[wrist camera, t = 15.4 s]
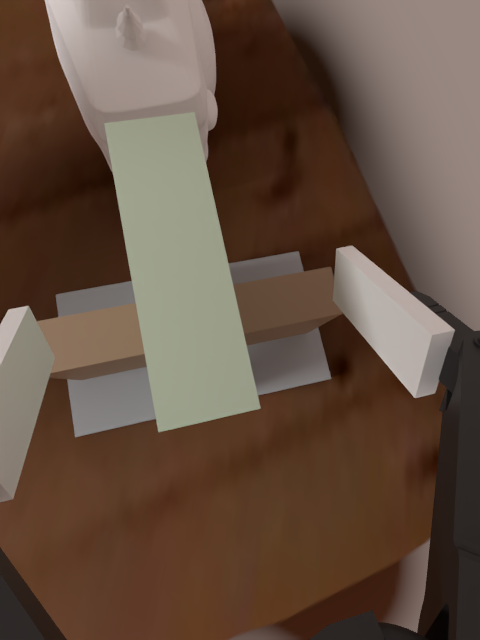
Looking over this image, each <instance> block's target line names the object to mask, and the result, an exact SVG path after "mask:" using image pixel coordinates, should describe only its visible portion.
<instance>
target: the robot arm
mask: <svg viewBox="0 0 480 640" xmlns="http://www.w3.org/2000/svg"><path fill="white" fill-rule="evenodd" d="M333 301H334V303H335V304H336V305H337V306H338V307H339V309H340V310H341V311H342V312H343V313H344V315H345V316H346V317H347V318H348V319H349V320H350V322H351V323H352V324H353V325H354V326H355V328H356V329H357V330H358V331H359V332H360V334H361V335H362V336H363V337H364V338H365V340H366V341H367V342H368V343H369V344H370V345H371V347H372V348H373V349H374V350H375V351H376V353H377V354H378V355H379V356H380V357H381V359H382V360H383V361H384V362H385V363H386V364H387V366H388V367H389V368H390V369H391V370H392V372H393V373H394V374H395V375H396V376H397V378H398V379H399V380H400V381H401V382H402V384H403V385H404V386H405V387H406V388H407V389H408V391H409V392H410V393H411V394H412V395H413V397H414V398H418V397H422V396H426V395H430V394H434V393H435V392H436V389H437V385H438V382H439V381H440V382H441V383H442V384H443V385H444V386H445V387H446V388H447V389H446V392H445V395H444V398H443V401H442V404H441V407H440V410H439V411H442V412H443V415H442V425H441V436H440V446H439V456H438V467H437V477H436V487H435V497H434V508H433V518H432V528H431V539H430V549H429V560H428V571H427V581H426V590H425V596H424V601H423V605H422V610H421V614H420V619H419V625H418V632H417V633H416V632H413V631H411V630H409V629H407V628H404V627H401V626H398V625H394V624H389V623H381V622H377V620H376V617H375V615H374V613H373V611H370V612H366V613H364V614H360V615H357V616H354V617H351V618H348V619H345V620H342V621H339V622H336V623H333V624H330V625H328V626H327V627H325V628H324V629H323V630H321V631H320V632H319V633H317V634H316V635H315V636H314V637H312V638H311V639H310V640H480V331H473V330H472V329H470V328H469V327H468V326H466V325H465V324H464V323H463V322H461V321H460V320H459V319H457V318H456V317H455V316H453V315H452V314H451V313H450V312H447V311H446V309H445V308H443V307H442V306H441V305H440V306H439V304H438V303H437V302H436V301H434V300H433V299H432V298H431V297H429V296H427V295H424V294H422V293H419V292H417V291H413V292H408V291H407V290H406V289H405V288H403V287H402V286H401V285H400V284H398V283H397V282H396V281H395V280H394V279H392V278H391V277H390V276H389V275H387V274H386V273H385V272H384V271H383V270H381V269H380V268H379V267H378V266H376V265H375V264H374V263H373V262H372V261H370V260H369V259H368V258H367V257H366V256H364V255H363V254H362V253H361V252H359V251H358V250H357V249H356V248H355V247H353V246H347V247H342V248H337V249H336V260H335V274H334V289H333ZM54 359H55V356H54V355H53V353H52V351H51V349H50V347H49V345H48V343H47V341H46V339H45V337H44V335H43V333H42V331H41V329H40V327H39V325H38V323H37V321H36V319H35V317H34V315H33V313H32V311H31V309H30V307H29V306H24V307H19V308H14V309H8V311H7V313H6V315H5V317H4V319H3V320H2V322H1V324H0V502H3V501H7V500H11V499H13V498H14V495H15V491H16V488H17V484H18V481H19V478H20V474H21V471H22V468H23V464H24V461H25V457H26V454H27V451H28V447H29V444H30V440H31V437H32V434H33V430H34V427H35V424H36V420H37V417H38V413H39V410H40V407H41V403H42V400H43V397H44V393H45V390H46V386H47V383H48V380H49V376H50V373H51V370H52V366H53V363H54ZM0 640H67V639H66V638H65V637H64V635H63V634H62V633H61V631H60V630H59V628H58V627H57V626H56V624H55V623H54V621H53V620H52V619H51V617H50V616H49V614H48V613H47V612H46V610H45V609H44V608H43V606H42V605H41V603H40V602H39V601H38V599H37V598H36V596H35V595H34V594H33V592H32V591H31V590H30V588H29V587H28V585H27V584H26V583H25V581H24V580H23V578H22V577H21V576H20V574H19V573H18V572H17V570H16V569H15V567H14V566H13V565H12V563H11V562H10V560H9V559H8V558H7V556H6V555H5V553H4V552H3V551H2V549H1V548H0Z"/></svg>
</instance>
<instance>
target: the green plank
mask: <svg viewBox="0 0 480 640" xmlns="http://www.w3.org/2000/svg"><path fill="white" fill-rule="evenodd" d="M104 125H105V131H106V137H107V142H108V148H109V154H110V159H111V165H112V171H113V177H114V182H115V188H116V194H117V199H118V205H119V211H120V216H121V222H122V228H123V234H124V239H125V245H126V251H127V256H128V262H129V268H130V273H131V279H132V285H133V290H134V296H135V302H136V308H137V313H138V319H139V325H140V330H141V336H142V342H143V347H144V353H145V359H146V365H147V370H148V376H149V382H150V387H151V393H152V399H153V404H154V410H155V416H156V421H157V427H158V432H162V431H166V430H171V429H175V428H179V427H184V426H188V425H192V424H196V423H201V422H205V421H209V420H214V419H218V418H222V417H226V416H231V415H235V414H239V413H243V412H248V411H252V410H256V409H261V408H260V404H259V399H258V395H257V390H256V386H255V381H254V377H253V372H252V368H251V363H250V359H249V354H248V350H247V345H246V341H245V336H244V332H243V327H242V323H241V318H240V314H239V309H238V305H237V300H236V296H235V291H234V287H233V282H232V278H231V273H230V269H229V264H228V260H227V255H226V251H225V246H224V242H223V237H222V233H221V228H220V224H219V219H218V215H217V210H216V206H215V201H214V197H213V192H212V188H211V183H210V179H209V174H208V170H207V165H206V161H205V156H204V152H203V147H202V143H201V138H200V134H199V129H198V125H197V120H196V116H195V112H191V113H183V114H175V115H167V116H158V117H150V118H142V119H134V120H126V121H118V122H110V123H104Z"/></svg>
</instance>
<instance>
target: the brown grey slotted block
mask: <svg viewBox="0 0 480 640" xmlns="http://www.w3.org/2000/svg"><path fill="white" fill-rule="evenodd" d="M229 269H230V273H231V278H232V282H233V287H234V291H235V296H236V300H237V305H238V309H239V314H240V318H241V323H242V327H243V332H244V336H245V341H246V345H247V350H248V354H249V359H250V363H251V368H252V372H253V377H254V381H255V386H256V390H257V395H262V394H267V393H271V392H275V391H280V390H284V389H288V388H293V387H297V386H302V385H306V384H310V383H315V382H319V381H323V380H328V379H331V375H330V371H329V368H328V364H327V360H326V356H325V352H324V348H323V344H322V340H321V336H320V332H319V329H318V327H319V326H321V325H323V324H325V323H327V322H328V321H330V320H332V319H334V318H336V317H338V316H339V315H341V314H343V312H342V311H341V310H340V309H339V307H338V306H337V305H336V304H335V303H334V301H333V289H334V276H333V272H332V268H331V267H326V268H320V269H315V270H309V271H304V270H303V266H302V262H301V258H300V255H299V251H297V252H291V253H285V254H280V255H274V256H269V257H263V258H257V259H252V260H246V261H241V262H235V263H229ZM56 302H57V309H58V317H57V318H52V319H46V320H41V321H37V323H38V325H39V327H40V329H41V331H42V333H43V335H44V337H45V339H46V341H47V343H48V345H49V347H50V349H51V351H52V353H53V355H54V356H55V359H54V363H53V366H52V370H51V373H50V376H49V378H55V379H67V382H68V389H69V396H70V403H71V410H72V418H73V425H74V432H75V437H78V436H82V435H87V434H91V433H96V432H100V431H104V430H109V429H113V428H118V427H122V426H126V425H131V424H135V423H139V422H144V421H148V420H153V419H156V416H155V410H154V404H153V399H152V393H151V387H150V382H149V376H148V370H147V365H146V359H145V353H144V347H143V342H142V336H141V330H140V325H139V319H138V313H137V308H136V302H135V296H134V290H133V285H132V281H128V282H123V283H117V284H112V285H106V286H100V287H95V288H89V289H84V290H78V291H72V292H67V293H61V294H56Z"/></svg>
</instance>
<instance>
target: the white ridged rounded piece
mask: <svg viewBox="0 0 480 640" xmlns="http://www.w3.org/2000/svg"><path fill="white" fill-rule="evenodd" d="M45 3H46V7H47V12H48V16H49V21H50V25H51V30H52V34H53V39H54V43H55V47H56V51H57V54H58V57H59V60H60V63H61V66H62V68H63V71H64V73H65V76H66V78H67V80H68V83H69V85H70V88H71V90H72V93H73V95H74V97H75V100H76V102H77V105H78V107H79V110H80V112H81V115H82V117H83V119H84V122H85V124H86V126H87V128H88V130H89V132H90V134H91V135H92V137H93V138H94V140H95V141H96V142H97V144H98V145H99V147H100V149H101V150H102V152H103V154H104V156H105V158H106V161H107V163H108V165H109V167H110V170H111V171H112V165H111V159H110V154H109V148H108V142H107V137H106V131H105V125H104V123H110V122H118V121H126V120H134V119H142V118H150V117H158V116H167V115H175V114H183V113H191V112H195V116H196V120H197V125H198V129H199V134H200V138H201V143H202V147H203V152H204V156H205V161H207V158H208V144H207V139H208V131H210V130H212V129H213V128H214V127H215V125H216V121H217V115H218V109H217V103H216V100H215V97H214V94H215V88H216V56H215V48H214V40H213V34H212V29H211V25H210V22H209V18H208V15H207V13H206V10H205V7H204V5H203V2H202V0H45ZM112 173H113V171H112Z"/></svg>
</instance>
